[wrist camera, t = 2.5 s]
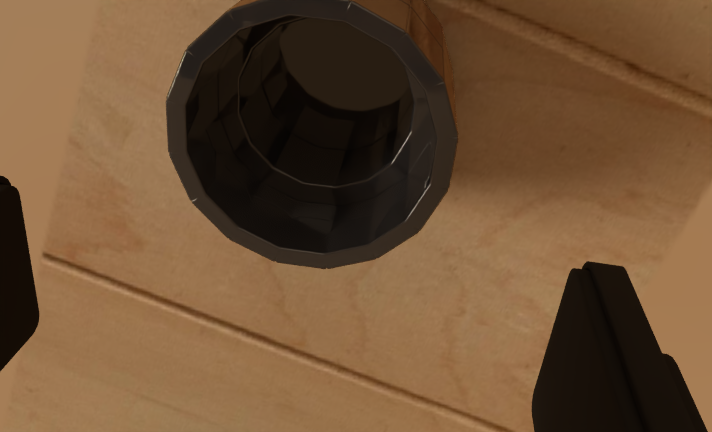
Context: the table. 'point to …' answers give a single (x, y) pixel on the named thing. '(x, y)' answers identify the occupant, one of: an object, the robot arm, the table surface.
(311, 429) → the table surface
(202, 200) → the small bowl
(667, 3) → the table surface
